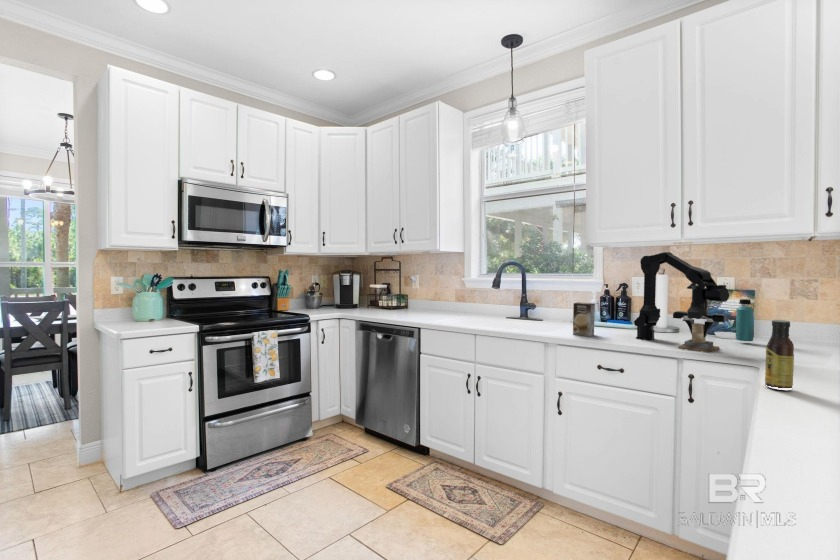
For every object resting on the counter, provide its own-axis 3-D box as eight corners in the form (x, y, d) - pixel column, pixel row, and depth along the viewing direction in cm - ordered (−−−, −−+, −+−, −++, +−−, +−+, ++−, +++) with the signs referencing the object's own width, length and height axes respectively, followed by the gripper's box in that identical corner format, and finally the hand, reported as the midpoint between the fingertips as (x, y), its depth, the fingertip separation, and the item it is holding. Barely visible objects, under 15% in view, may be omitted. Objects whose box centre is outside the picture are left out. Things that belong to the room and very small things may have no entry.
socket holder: (678, 348, 186) (678, 341, 185) (687, 344, 194) (687, 338, 193) (711, 352, 177) (711, 345, 177) (719, 348, 185) (719, 341, 185)
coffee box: (572, 334, 223) (572, 303, 222) (576, 332, 228) (577, 302, 227) (590, 336, 217) (590, 304, 216) (594, 334, 222) (595, 303, 221)
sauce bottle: (765, 384, 130) (766, 318, 129) (792, 388, 126) (794, 320, 125) (764, 389, 125) (766, 320, 124) (793, 393, 121) (795, 322, 120)
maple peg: (691, 342, 185) (692, 323, 185) (694, 341, 188) (695, 323, 188) (702, 343, 182) (703, 324, 182) (705, 342, 185) (706, 323, 185)
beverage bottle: (756, 345, 193) (757, 299, 193) (739, 344, 195) (740, 299, 194) (748, 342, 200) (749, 298, 199) (732, 341, 201) (733, 298, 200)
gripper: (668, 299, 186) (667, 336, 186) (720, 302, 172) (719, 342, 173) (677, 298, 193) (676, 333, 194) (728, 301, 180) (727, 338, 180)
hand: (698, 336), depth 185 cm, fingers closed on maple peg, 4 cm apart
